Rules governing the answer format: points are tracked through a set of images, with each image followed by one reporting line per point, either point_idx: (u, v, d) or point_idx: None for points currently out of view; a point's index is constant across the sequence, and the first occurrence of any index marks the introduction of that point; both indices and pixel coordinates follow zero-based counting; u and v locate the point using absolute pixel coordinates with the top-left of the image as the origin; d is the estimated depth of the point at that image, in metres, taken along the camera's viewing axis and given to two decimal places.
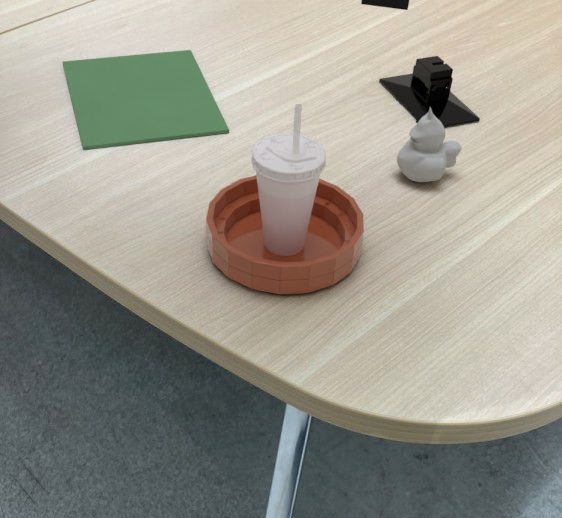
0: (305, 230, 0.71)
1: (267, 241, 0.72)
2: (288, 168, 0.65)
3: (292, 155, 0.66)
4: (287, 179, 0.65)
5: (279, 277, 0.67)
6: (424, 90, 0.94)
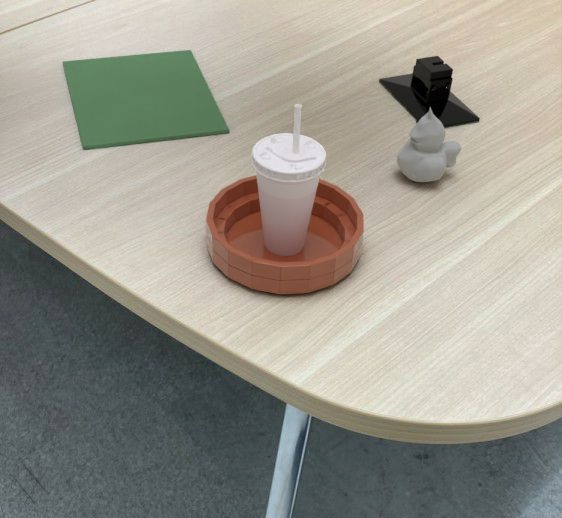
0: (305, 230, 0.71)
1: (267, 241, 0.72)
2: (288, 168, 0.65)
3: (292, 155, 0.66)
4: (287, 179, 0.65)
5: (279, 277, 0.67)
6: (424, 90, 0.94)
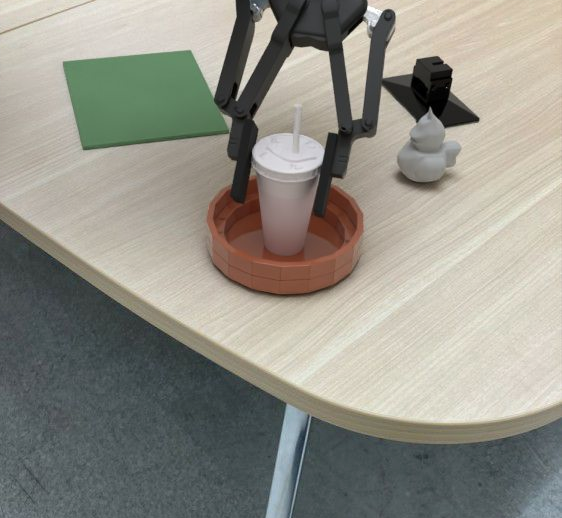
0: (305, 230, 0.71)
1: (267, 241, 0.72)
2: (288, 168, 0.65)
3: (292, 155, 0.66)
4: (287, 179, 0.65)
5: (279, 277, 0.67)
6: (424, 90, 0.94)
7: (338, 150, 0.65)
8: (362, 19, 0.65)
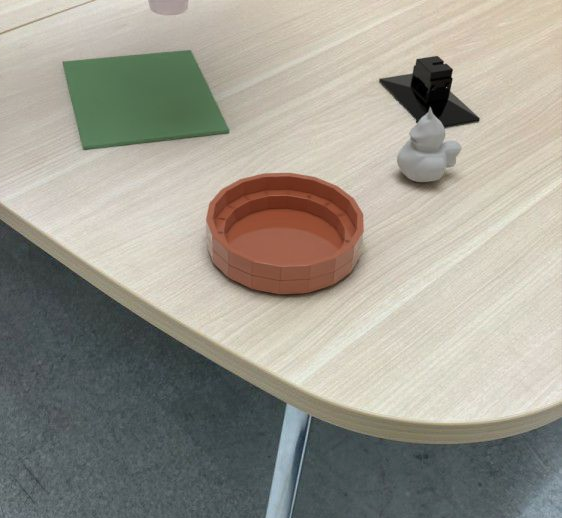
0: None
1: None
2: None
3: None
4: None
5: (279, 277, 0.67)
6: (424, 90, 0.94)
7: None
8: None
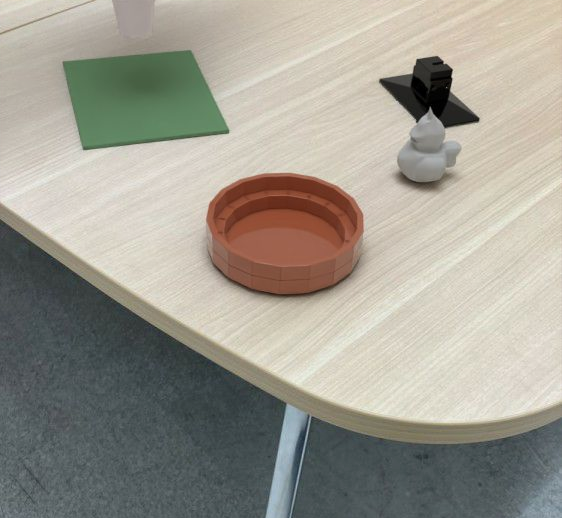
0: (150, 14, 0.84)
1: (119, 25, 0.85)
2: None
3: None
4: None
5: (279, 277, 0.67)
6: (424, 90, 0.94)
7: None
8: None
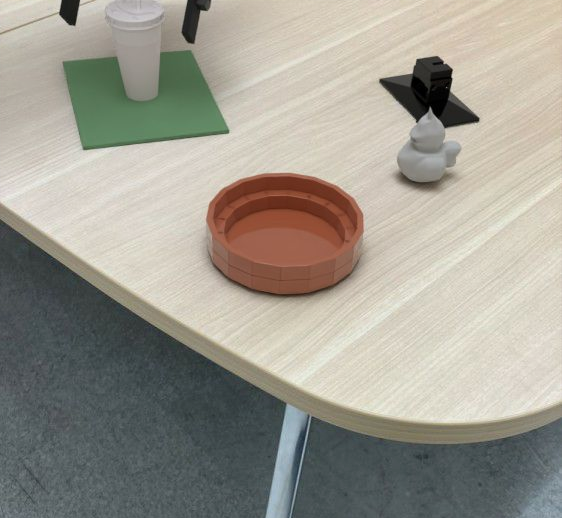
0: (155, 78, 0.89)
1: (126, 88, 0.90)
2: (130, 19, 0.83)
3: (135, 10, 0.84)
4: (129, 27, 0.83)
5: (279, 277, 0.67)
6: (424, 90, 0.93)
7: None
8: None
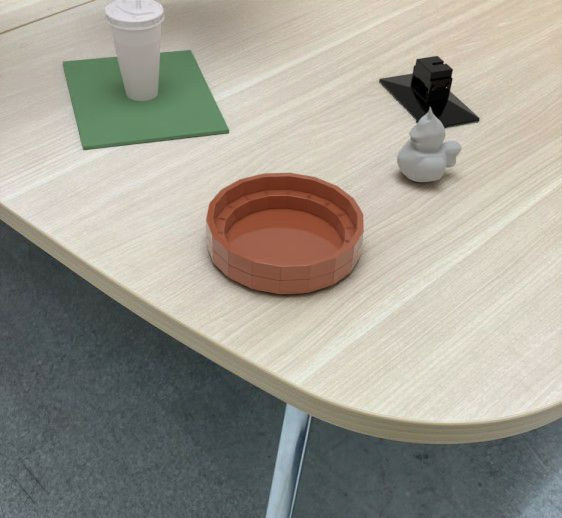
0: (155, 78, 0.89)
1: (126, 88, 0.90)
2: (130, 19, 0.83)
3: (135, 10, 0.84)
4: (129, 27, 0.83)
5: (279, 277, 0.67)
6: (424, 90, 0.94)
7: None
8: None
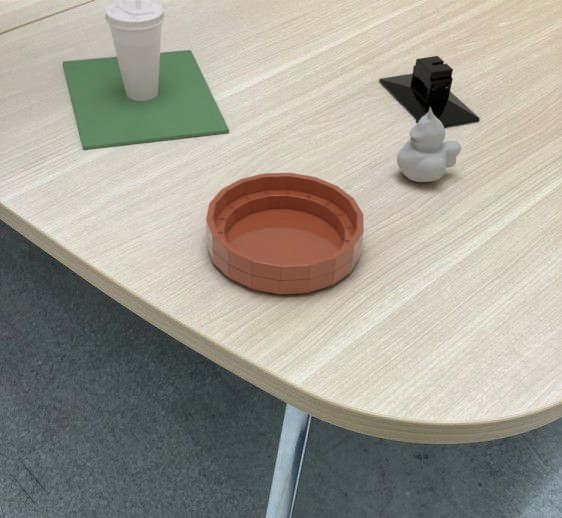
0: (155, 78, 0.89)
1: (126, 88, 0.90)
2: (130, 19, 0.83)
3: (135, 10, 0.84)
4: (129, 27, 0.83)
5: (279, 277, 0.67)
6: (424, 90, 0.94)
7: None
8: None
